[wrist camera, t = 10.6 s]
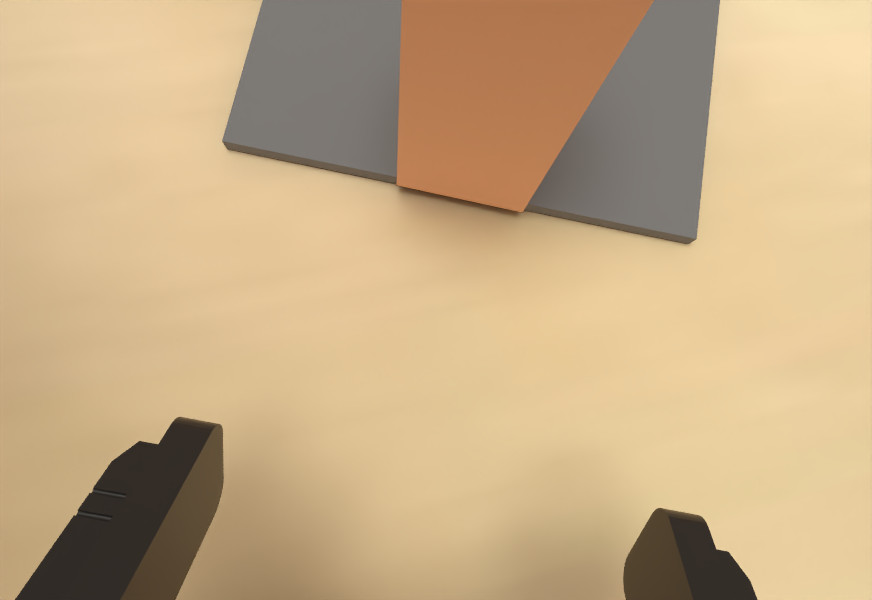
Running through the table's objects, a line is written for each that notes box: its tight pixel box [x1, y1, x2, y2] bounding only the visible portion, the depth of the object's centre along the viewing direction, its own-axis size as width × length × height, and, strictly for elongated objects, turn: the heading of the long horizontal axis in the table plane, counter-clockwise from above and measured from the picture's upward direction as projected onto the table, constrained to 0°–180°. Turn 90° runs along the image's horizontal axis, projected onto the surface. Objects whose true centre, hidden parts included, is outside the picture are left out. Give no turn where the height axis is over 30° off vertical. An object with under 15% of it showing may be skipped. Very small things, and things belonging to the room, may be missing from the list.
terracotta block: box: [397, 0, 654, 212], centre depth 16 cm, size 4×4×12 cm
